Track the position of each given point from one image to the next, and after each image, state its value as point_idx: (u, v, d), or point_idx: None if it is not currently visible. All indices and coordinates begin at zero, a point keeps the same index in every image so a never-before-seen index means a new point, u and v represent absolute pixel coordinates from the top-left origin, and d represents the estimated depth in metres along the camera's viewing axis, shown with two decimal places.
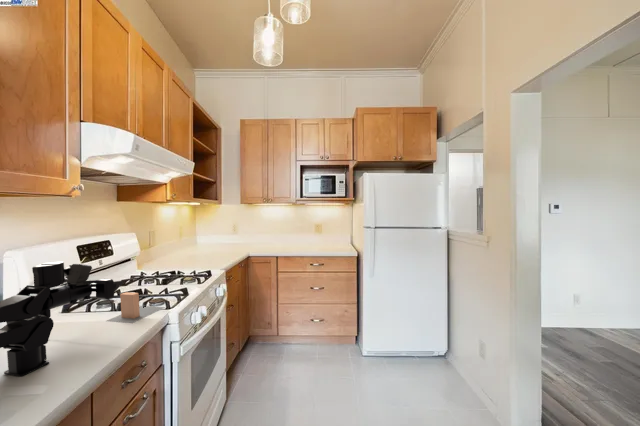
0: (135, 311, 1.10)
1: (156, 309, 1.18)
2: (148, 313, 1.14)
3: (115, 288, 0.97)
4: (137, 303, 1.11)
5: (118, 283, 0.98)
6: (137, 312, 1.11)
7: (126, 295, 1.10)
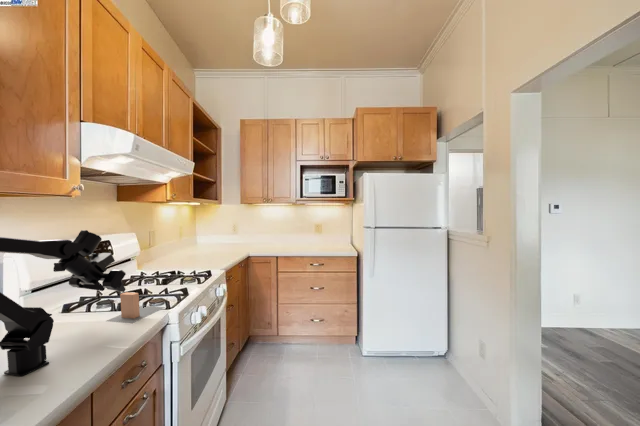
0: (135, 311, 1.10)
1: (156, 309, 1.18)
2: (148, 313, 1.14)
3: (118, 288, 1.00)
4: (137, 303, 1.11)
5: (122, 287, 1.02)
6: (137, 312, 1.11)
7: (126, 295, 1.10)
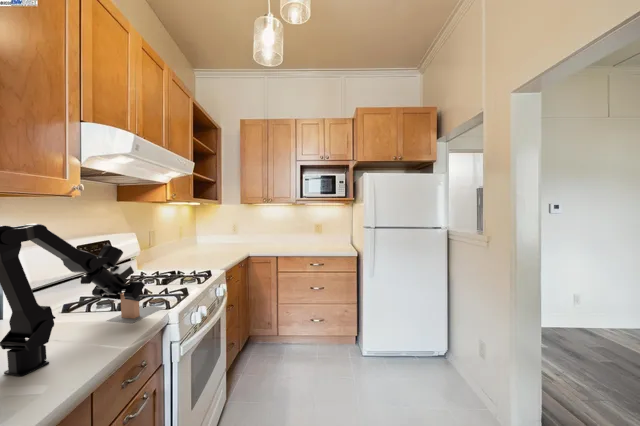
0: (135, 311, 1.10)
1: (156, 309, 1.18)
2: (148, 313, 1.14)
3: None
4: (137, 303, 1.11)
5: (138, 296, 1.10)
6: (137, 312, 1.11)
7: None
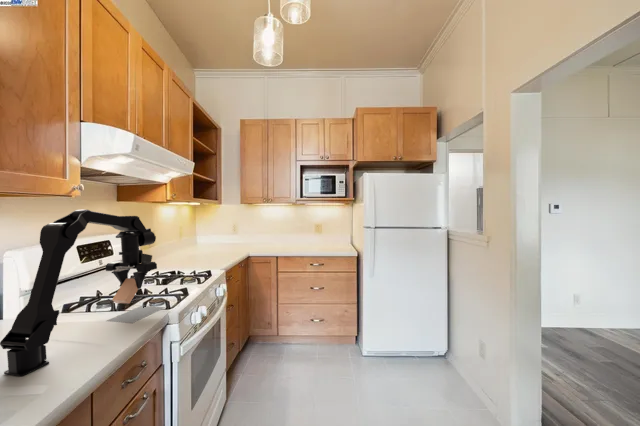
0: (130, 295, 1.08)
1: (156, 309, 1.18)
2: (148, 313, 1.14)
3: (139, 279, 1.10)
4: (136, 290, 1.10)
5: (141, 282, 1.12)
6: (130, 298, 1.08)
7: (131, 279, 1.12)
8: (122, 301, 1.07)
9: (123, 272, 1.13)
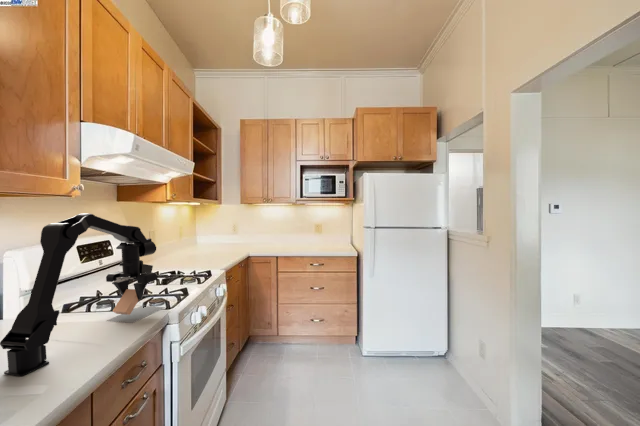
0: (130, 306, 1.08)
1: (156, 309, 1.18)
2: (148, 313, 1.14)
3: (139, 290, 1.10)
4: (136, 300, 1.10)
5: (141, 293, 1.12)
6: (130, 309, 1.08)
7: (132, 290, 1.12)
8: (122, 312, 1.07)
9: (123, 283, 1.13)
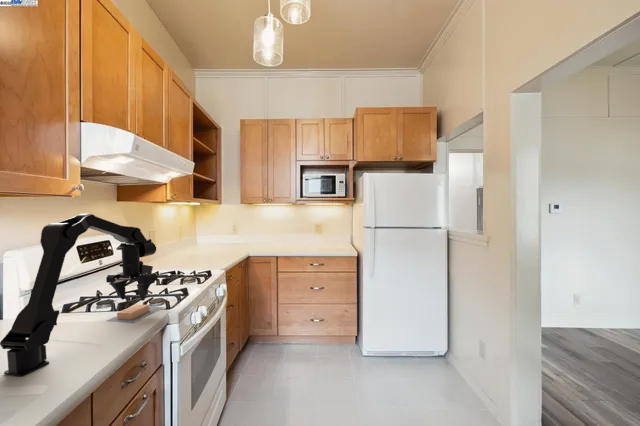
0: (136, 312, 1.11)
1: (156, 309, 1.18)
2: (148, 313, 1.14)
3: (142, 291, 1.10)
4: (141, 312, 1.13)
5: (145, 294, 1.11)
6: (134, 315, 1.10)
7: None
8: (126, 315, 1.09)
9: (121, 283, 1.13)
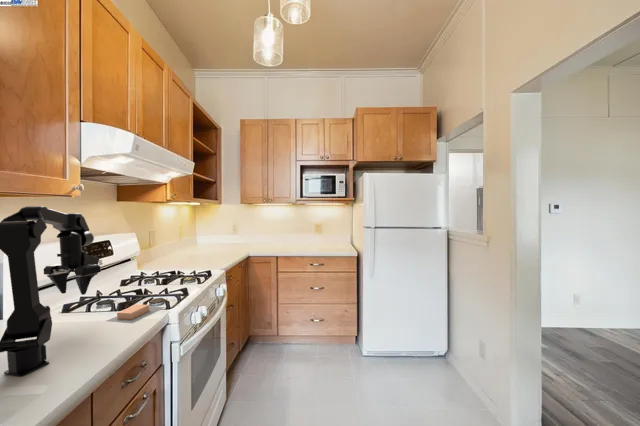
0: (136, 312, 1.11)
1: (156, 309, 1.18)
2: (148, 313, 1.14)
3: (82, 284, 0.99)
4: (141, 312, 1.13)
5: (86, 287, 1.00)
6: (134, 315, 1.10)
7: None
8: (126, 315, 1.09)
9: (61, 276, 1.02)
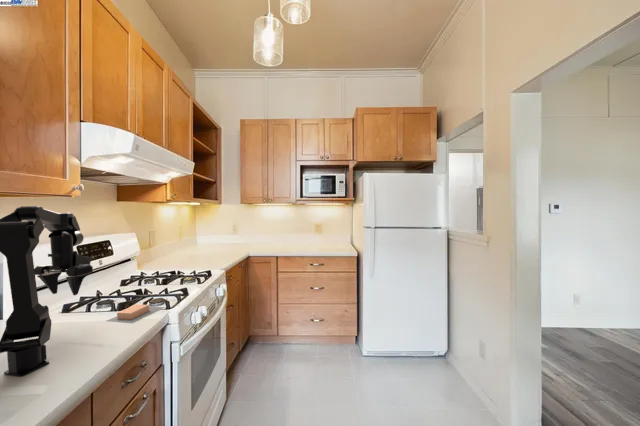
0: (136, 312, 1.11)
1: (156, 309, 1.18)
2: (148, 313, 1.14)
3: (74, 285, 0.98)
4: (141, 312, 1.13)
5: (77, 288, 0.99)
6: (134, 315, 1.10)
7: None
8: (126, 315, 1.09)
9: (52, 276, 1.01)
